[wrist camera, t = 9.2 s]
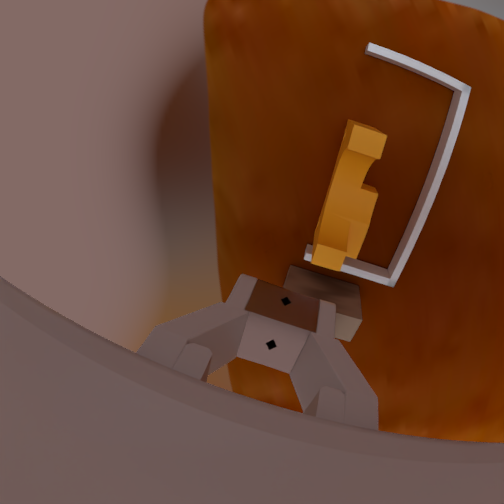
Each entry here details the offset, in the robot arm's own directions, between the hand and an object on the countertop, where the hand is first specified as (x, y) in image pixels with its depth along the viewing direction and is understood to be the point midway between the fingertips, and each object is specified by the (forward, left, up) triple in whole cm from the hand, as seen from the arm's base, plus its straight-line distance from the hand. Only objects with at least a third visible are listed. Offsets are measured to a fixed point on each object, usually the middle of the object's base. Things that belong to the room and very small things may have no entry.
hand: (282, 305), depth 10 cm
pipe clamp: (-4, +1, -23) cm, 23 cm away
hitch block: (-5, +13, -22) cm, 26 cm away
